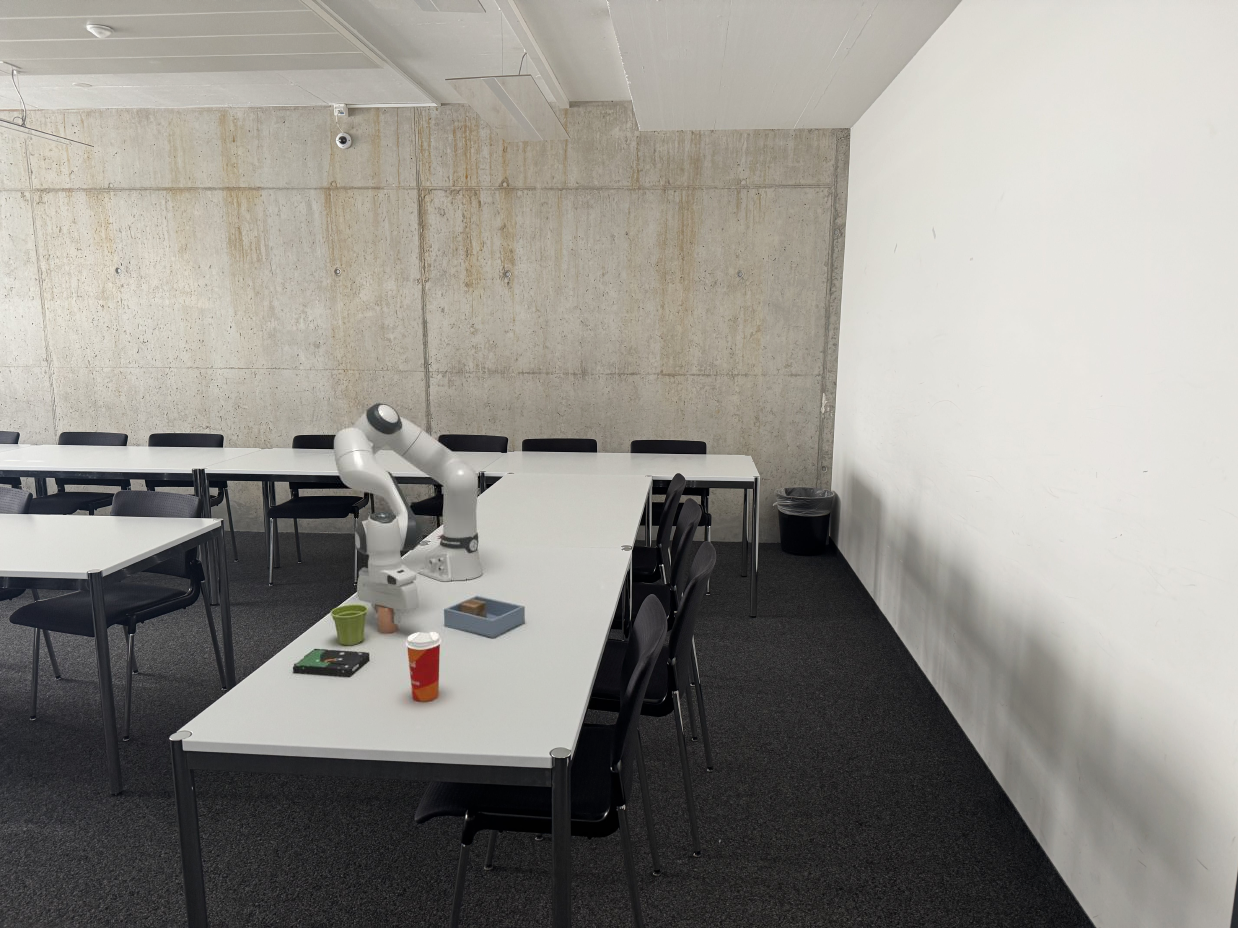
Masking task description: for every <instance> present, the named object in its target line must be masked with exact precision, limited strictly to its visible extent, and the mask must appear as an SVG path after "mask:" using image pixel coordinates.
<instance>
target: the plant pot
mask: <svg viewBox="0 0 1238 928" xmlns="http://www.w3.org/2000/svg"><path fill="white" fill-rule="evenodd" d="M368 611H369V608H368V607H367V606H366V605H365V604H347V605H340V606H337V607H335V608H333V609H332V610H331V611H330V613H329V614H330V616H332V619H333V622H334V624H335V630H336V635H337V640H338V643H339V644H340V645H341V646H342V645H345V646H355V645H358V644H359V643H360V642H363V641H364V635H365V626H366V625H365V623H366V617H367V612H368Z"/></svg>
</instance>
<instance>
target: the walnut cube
mask: <svg viewBox="0 0 1238 928" xmlns="http://www.w3.org/2000/svg"><path fill="white" fill-rule="evenodd" d="M461 612H463V613H467V614H471V615H476V616H480V617H484V618H487V609H486V602H483V601H479V600H474V599H472V600H470V601H467V602H465V603H462V604H461Z"/></svg>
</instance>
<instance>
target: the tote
mask: <svg viewBox="0 0 1238 928" xmlns="http://www.w3.org/2000/svg"><path fill="white" fill-rule="evenodd" d="M472 599H474V600H479V601H483V602H486V609H487V618H484V617H480V616H476V615H471V614H467V613H463V612H461V604H462V603H465V602H467V601H470V600H472ZM525 609H526V608H525V605H520V604H516V603H512V602H507V601H504V600H503V601H502V600H498V599H495V598H494V599H493V598H488V597H484V596H481V595H480V596H479V595H476V596H473V597H470V598H468V599H465V600H463V601H461V602H458V603H456V604H453V605H451V606H449V607H446V608H444V609H443V617H444V618H443V619H444V620H443V621H444V624H443V625H444V627H446V628H449V629H454V630H458V631H461V632H465V633H470V634H473V635H477V636H481V637H485V638H488V639H491V640H494V639H496V638H498V637H501V636H502V635H504V634H506V633H508V632H510V631H512V630H514V629H517V628H519V627H520V626H523V625H524V623H526V619H525V618H526V615H525V613H526V610H525ZM522 624H523V625H522Z"/></svg>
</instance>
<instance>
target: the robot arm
mask: <svg viewBox="0 0 1238 928" xmlns="http://www.w3.org/2000/svg"><path fill="white" fill-rule="evenodd" d="M333 439H334V440H333V453H334V454H333V455H334V461H335V465H336V469H337V472H338V476H339V478H340V480H341V481H342V483H343V484H344V485H345V486H347V487H348V488H349V489H352V490H354V491H359V492H364V493H369V494H373V495H377V496H380V497H382V498H383V499H384V500H386V501H387V503H388V505H389V507H390V509H391V511H392V512H389V511H376V512H373V513H371V514H370V515H369V516H368V517H367V519H366V520H363V521H360V522H359V523H358V524H357V525H356V527H355V528H354V530H353V533H354V534H353V536H354V548H355V549H356V550H357V551H358V552H360V553H361V554H363V555H368V561H367V567H362V568H361V569H359V571H358V578H357V583H356V586H357V587H356V597H357V599H358V601H361V602H365V603H369V604H371V605H370V606H371V609H372V611H373V612H374V618H375V619H376V620H378V608H377V606H378V605H380V606H384V607H388V608H392V609H393V610H394V612H395V615H394V617H391V620H392V623H394V624H397V625H398V624H399V623H401V615H402V614H403V612H405V613H409V612H412V611H414V610H416V609H417V607H418V605H419V597H418V596H419V595H418V587H417V584H416V583H415V581H416V580H417V574H416V572H414V571H413V570H411V569H410V568H408V567H407V566H406V565H405V564H403V558H402V555H401V552H406V551H414V550H415V549H416V548H417V547H418V546H419V545H420V544H421V542H422V541H423V537H424V534H423V533H424V532H423V527H422V524H421V522H420V520H419V519H418V518H417V516H416V514H414V512H413V510H412V508H411V506H410V505H409V502H408V501H407V499H406V496H405V495H404V492H403V491H402V489H401V487H400V485H399V483H398V481H397V480H396V478H395V477H394V475H393V474H392V472H390V471H388V470H386V469H384V467H382V466H381V465H380V463H378V461H377V460H376V458H375V457H376V456H375V455H376V454H378V452H380V451H381V450H382V449H383V448H384V447H385V446H387V447H389V449H390V450H392V451H393V452H394V453H396V454H397V455H398V456H400V457H401V459H404V460H405V461H406V462H408V463H409V464H411V465H412V466H413V467H415V468H416V469H418V470H419V471H421V472H422V473H423V474H425V475H427V476H428V477H430V478H431V479H433V480H434V481H437V482H438V483H439V484H440V485H441V486H442V487H443V507H442V508H443V509H442V524H443V525H442V526H443V527H442V530H443V533H442V534H441V535H438V536H436V537H437V540H440V542H439V544H438V545H437V546H436V547H435V548H434V549H432V550H431V551H430V552H429V553H427V555H426V556H425V562H424V566H422V567H420V568H419V569H418V570H417V573H418V574H420V575H423V576H425V577H428V578H431V579H434V580H437V581H440V582H450V581H451V580H452V581H465V580H466V579H467V580H472V579H476V578H478V577H481V576H482V575H483V573H484V572H483V569H482V565H481V560H480V553H479V534H478V531H477V530H478V529H477V527H478V526H477V505H478V495H479V494H478V492H479V478H478V473H477V471H476V470H475V469H474V468H473V467H472V466H471V465H470V464H469V463H468V462H467V461H466V460H465V459H463V458H462V457H460V456H459V455H457V454H456V453H455V452H454V451H452V450H451V449H449V448H447V446H445V445H444V444H442V443H441V442H439V441H438V440H437V439H435V438H434V437H432V436H431V435H430V434H428V433H427V432H426V431H425V430H423V429H422V428H420V427H419V426H417V425H416V424H415V423H414V422H411V421H410V420H408V419H407V418H404V417H402V416H400V415H399V413H398V411H397V410H396V409H395V408H394V407H392V406H391V405H389V404H388V403H387V404H386V403H381V402H378V403H375V404H373V405H372V406H370V407H369V408H367V410H366V412H364V413H363V414H362V415H361V416H360V417H359V418H358V419H357V420H356V421H355V422H354V424H353V425H352V427H346V428H344V429H341V430H339V432H337V433H336V435H335V436H334V438H333ZM467 580H466V581H467Z"/></svg>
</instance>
